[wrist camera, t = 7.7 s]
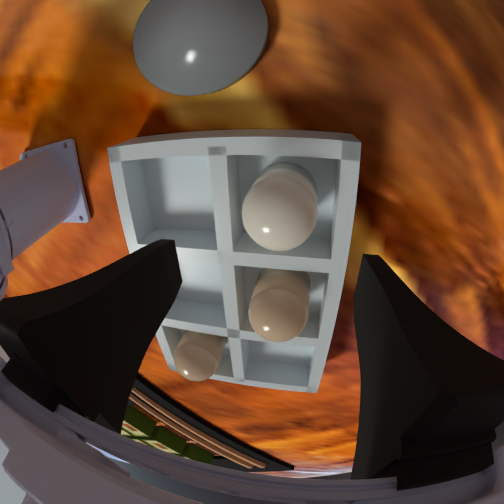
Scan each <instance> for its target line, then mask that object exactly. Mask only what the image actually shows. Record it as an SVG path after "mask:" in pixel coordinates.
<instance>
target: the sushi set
mask: <svg viewBox="0 0 504 504" xmlns="http://www.w3.org/2000/svg"><path fill="white" fill-rule="evenodd" d="M134 405H137V406H138V407H140V408H141V409H143V410H144V411H145V412H147V413H148V414H150V415H151V416H153V417H155V418H156V419H158V420H159V421H161V422H162V423H164V424H166V425H167V426H169V427H170V428H172V429H174V430H175V431H177V432H179V433H180V434H182V435H184V436H186V437H187V438H189V439H191V440H193V441H195V442H196V443H198V444H200V445H202V446H204V447H206V448H208V449H210V450H212V451H214V452H216V453H218V454H220V455H222V456H214V455H213V454H211V453H209V452H207V451H205V450H203V449H201V448H199V447H197V446H196V445H194V444H192V443H186V440H185V439H183V438H181V437H179V436H178V435H176V434H174V433H172V432H171V431H169V430H167V429H166V428H164V427H163V426H156V422H155V421H153V420H151V419H150V418H148V417H147V416H145V415H144V414H142V413H141V412H139V411H138V410H136V409H135V408H134V407H132V406H134ZM121 435H123V436H125V437H127V438H130V439H132V440H135V441H137V442H140V443H142V444H145V445H148V446H151V447H153V448H156V449H159V450H162V451H165V452H168V453H171V454H174V455H177V456H181V457H184V458H188V459H191V460H195V461H198V462H202V463H206V464H210V465H214V466H219V467H223V468H228V469H233V470H238V471H244V472H268V471H287V470H294V466H292V465H289V464H287V463H285V462H282V461H280V460H278V459H276V458H274V457H271V456H269V455H267V454H265V453H263V452H261V451H259V450H257V449H255V448H253V447H251V446H249V445H247V444H245V443H243V442H241V441H240V440H238V439H236V438H234V437H232V436H230V435H229V434H227V433H225V432H223V431H221V430H220V429H218V428H216V427H215V426H213V425H211V424H210V423H208V422H206V421H205V420H203V419H201V418H200V417H198V416H197V415H195V414H194V413H192V412H190V411H189V410H187V409H186V408H184V407H183V406H181V405H180V404H178V403H177V402H175V401H174V400H173V399H171V398H170V397H168V396H167V395H165V394H164V393H163V392H161V391H160V390H158V389H157V388H156V387H154V386H153V385H152V384H150V383H149V382H148V381H146V380H145V379H144V378H143V377H141V376H140V375H139V374H137V376H136V379H135V381H134V384H133V387H132V390H131V394H130V397H129V401H128V404H127V408H126V412H125V416H124V421H123V425H122V430H121Z"/></svg>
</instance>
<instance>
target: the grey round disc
mask: <svg viewBox="0 0 504 504" xmlns="http://www.w3.org/2000/svg"><path fill="white" fill-rule="evenodd" d="M268 37H269V19H268V15H267V12H266V9H265V7H264V5H263V3H262V2H261V0H151V1H150V2H149V3H148V4H147V6H146V7H145V8H144V10H143V11H142V13H141V15H140V17H139V19H138V21H137V24H136V27H135V30H134V36H133V53H134V57H135V61H136V63H137V66H138V68H139V69H140V71H141V73H142V74H143V75H144V77H145V78H146V79H147V80H148V81H149V82H150V83H151V84H153V85H154V86H156V87H157V88H159V89H161V90H163V91H166V92H169V93H172V94H177V95H186V96H189V95H204V94H210V93H214V92H218V91H220V90H223V89H225V88H228V87H229V86H231V85H233V84H235V83H236V82H238V81H239V80H241V79H242V78H243V77H245V76H246V75H247V74H248V73H249V72H250V71H251V70H252V69H253V68H254V66H255V65H256V64H257V62H258V61H259V60H260V58H261V56H262V54H263V52H264V50H265V48H266V45H267V42H268Z"/></svg>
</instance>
